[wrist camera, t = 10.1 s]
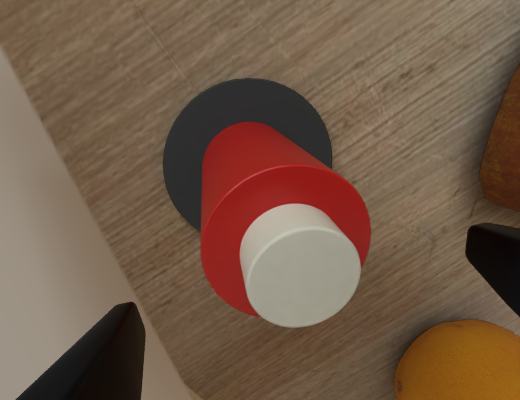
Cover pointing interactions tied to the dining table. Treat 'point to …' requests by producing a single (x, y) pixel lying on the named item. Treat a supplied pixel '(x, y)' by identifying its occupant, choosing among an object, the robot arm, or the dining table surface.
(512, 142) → the bread
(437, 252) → the dining table surface
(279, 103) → the disc
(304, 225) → the ketchup bottle
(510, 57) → the dining table surface
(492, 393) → the fruit
